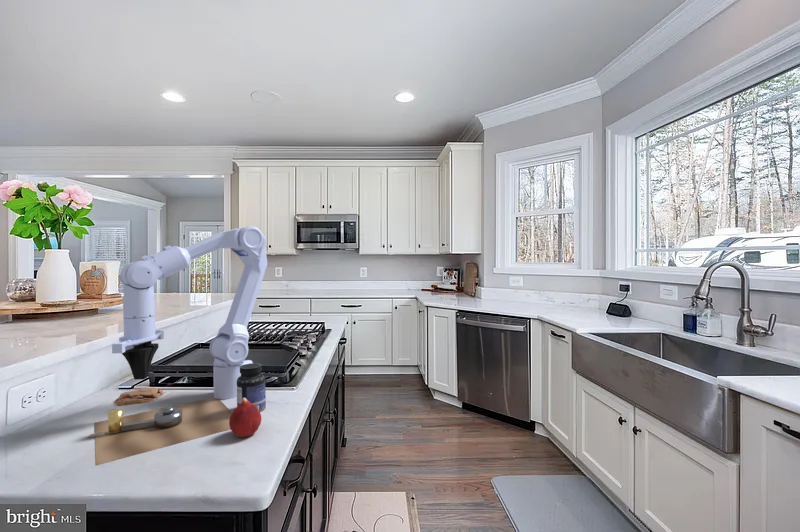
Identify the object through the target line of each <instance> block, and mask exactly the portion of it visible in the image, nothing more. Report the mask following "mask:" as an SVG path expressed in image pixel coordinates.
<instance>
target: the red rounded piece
mask: <svg viewBox="0 0 800 532" xmlns="http://www.w3.org/2000/svg"><path fill="white" fill-rule="evenodd" d="M231 412H232V414H231V416H230V420H229V426H230V429H231V430H230V431H231V432H232V433H233V434H234V435H236V436H237V437H239V438H247V437H250V436H252V435H254V434H255V433H256V432H257V431H258V430H259V428H260V426H261V423H262V414H261V412H260V411H259V409H258V408H257V407H256V406H255V405H254V404H253V403H250V402H249V401H248V400H247V399H246V398H243V399H242V402H241V404H240V405H238V406H237V405H236V407H235V408H234V409H233V411H231Z"/></svg>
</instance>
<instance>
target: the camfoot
mask: <svg viewBox="0 0 800 532" xmlns="http://www.w3.org/2000/svg"><path fill="white" fill-rule="evenodd" d="M162 408H163V411H160V412H158V413H156V414H155V415H154V419H150V420H143V421H137V422H130V423H123V417H124V409H123V408H114V409H111V410H109V411H107V420H108V433H110V434H113V433H118V432H121V431H126V430H133V429H139V428H145V427H152V426H155V427H157V428H166V427H171V426H174V425H177V424H179V423H181V422H182V410H181V409H174V407H171V406H165V407H162Z"/></svg>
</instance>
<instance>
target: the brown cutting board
mask: <svg viewBox="0 0 800 532" xmlns="http://www.w3.org/2000/svg"><path fill="white" fill-rule="evenodd" d="M170 407H174V409H181V410H182V422H181V423H179V424H177V425H174V426H171V427H166V428H157V427H155V426H152V427H145V428H139V429H133V430H126V431H121V432H118V433H113V434H110V433H108V419H106V420H100V421H97V422H94V432H93V433H90V435H89V436H88V438H94V447H95V450H94V451H95V466H99V465H104V464H107V463H110V462H114V461H117V460H122V459H126V458H129V457H133V456H137V455H140V454H144V453H148V452H152V451H155V450H159V449H163V448H167V447H170V446H174V445H177V444H182V443H185V442H189V441H192V440H197V439H202V438H205V437H209V436H212V435H215V434H218V433H222V432H227V431H231V429H230V426H229V420H230V416H231V414H232V412H233V411H232V410H230V409H229V408H228V407H227V406H226V405H225V403H223V401H222V400H221V399H217V398H215V397H214V396H213V397H208V398H204V399H200V400H195V401H191V402H187V403H186V402H185V403H181V404H177V405H176V404H175V405H172V406H170ZM163 408H164V407H162V408H158V409H152V410H148V411H144V412H139V413H135V414H134V413H133V414H129V415H123V423H130V422H137V421H143V420H150V419H154V415H155V414H156V413H158V412H160V411H163Z"/></svg>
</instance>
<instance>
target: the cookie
mask: <svg viewBox="0 0 800 532" xmlns="http://www.w3.org/2000/svg"><path fill="white" fill-rule="evenodd" d="M162 395H164V391H163V389H161V388H157V387H145V388H138V389H134V390H129V391H125V392H122V393H120V395H119V397H117V398H116V399H115V402H114V404H117V406H122V407H123V406H129V405H130V406H131V405H137V404H147V403H150V402H153V401H154V400H155V399H157V398H160V397H161V396H162Z"/></svg>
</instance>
